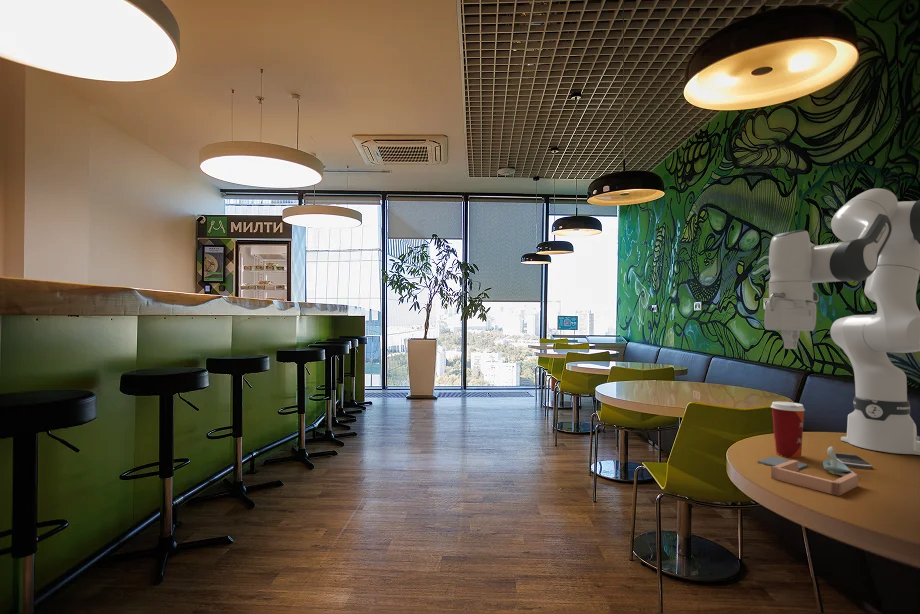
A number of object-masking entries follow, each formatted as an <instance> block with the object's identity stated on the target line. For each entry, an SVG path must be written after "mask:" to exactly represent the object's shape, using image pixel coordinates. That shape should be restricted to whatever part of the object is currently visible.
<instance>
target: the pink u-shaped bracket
mask: <svg viewBox="0 0 920 614" xmlns="http://www.w3.org/2000/svg"><path fill="white" fill-rule="evenodd" d="M789 460H790V459H789ZM798 462H799V460H794V459H791V460H790V461H787V462H784V463H782V464H779V465H776V466H771V467H770V468H771V469H770V472H771V475H770V477H771V479H774V480H776V481H781V482H784V483H789V484H791V485H795V486H799V487H804V488H808V489H811V490H815V491H818V492H819V491H820V492H822V493H827V494H830V495H834V496H836V497H837V496H838V497H840V496H841V495H843V494H845V493H847V492H849V491H851V490H853V489H855V488H857V487H859V476H858V475H859V474H857V473H855V474H853V473H847V474H848V475H845V476H841V477H838V478H837V479H835V480H831V479H828V478H822V477H819V476H814V475H810V474H806V473H802V472H799V470H798Z"/></svg>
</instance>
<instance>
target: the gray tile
mask: <svg viewBox="0 0 920 614" xmlns="http://www.w3.org/2000/svg"><path fill="white" fill-rule="evenodd" d="M787 461H790V459H785V458H780V457H777V456H772V455H771V456H769V457H766V458H763V459H760V460H757V463H758V464H762V463H763V464H762V465H765V466H771V467H773V466H776V465H779V464H782V463H784V462H787ZM806 467H809V464H807V463H803V462H799V461H798V471H799V470H802V469H804V468H806Z"/></svg>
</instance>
